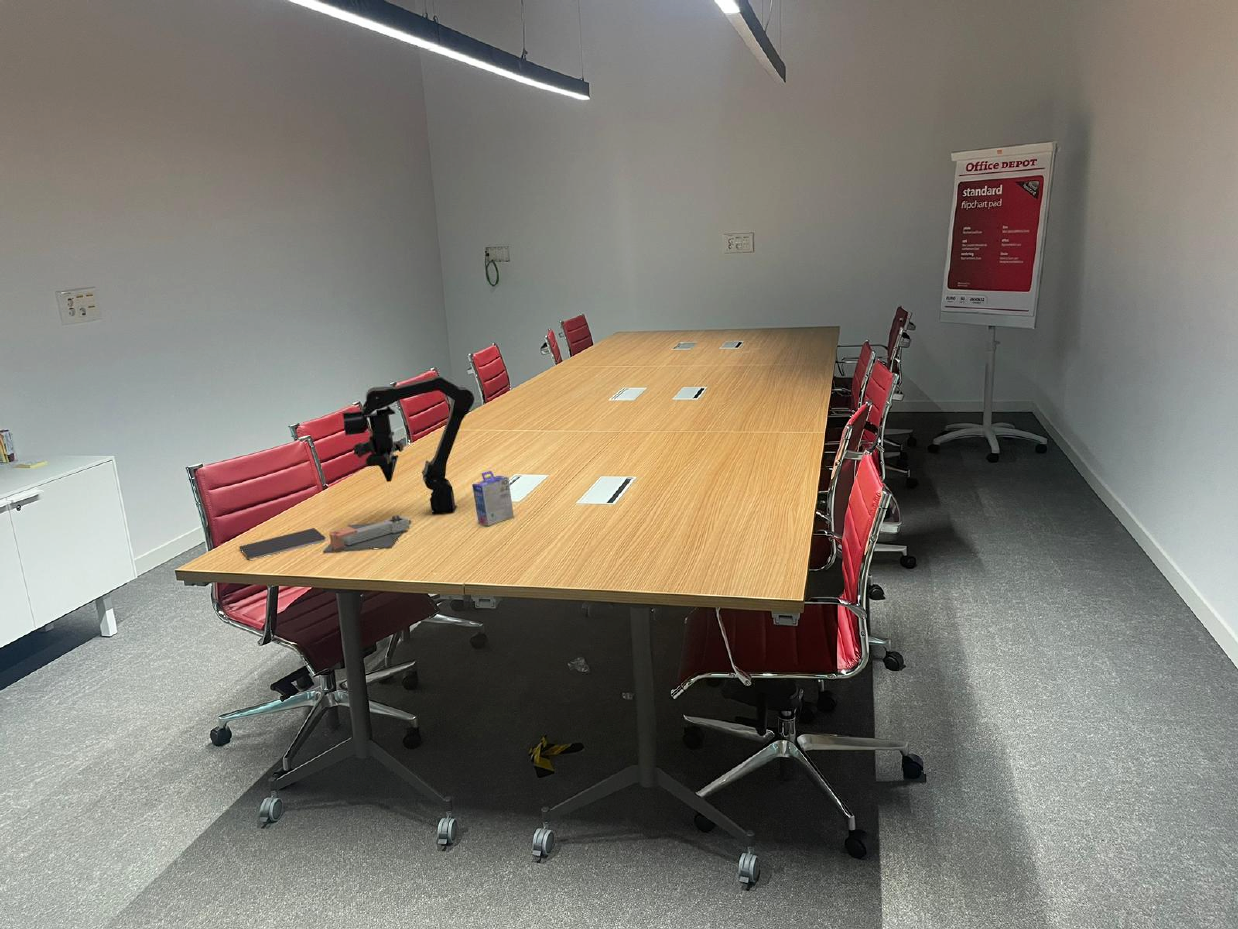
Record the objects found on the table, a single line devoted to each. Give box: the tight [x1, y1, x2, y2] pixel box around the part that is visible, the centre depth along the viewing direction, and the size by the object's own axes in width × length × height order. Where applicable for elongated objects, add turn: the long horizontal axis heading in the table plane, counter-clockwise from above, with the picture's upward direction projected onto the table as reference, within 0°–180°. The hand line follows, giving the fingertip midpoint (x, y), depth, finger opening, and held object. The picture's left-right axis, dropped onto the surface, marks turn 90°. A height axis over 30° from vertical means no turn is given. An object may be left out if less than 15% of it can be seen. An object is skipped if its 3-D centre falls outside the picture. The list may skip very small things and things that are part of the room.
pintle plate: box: [322, 514, 413, 554], centre depth 258 cm, size 19×22×5 cm
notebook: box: [239, 527, 326, 560], centre depth 258 cm, size 13×2×21 cm
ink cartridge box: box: [471, 470, 515, 527], centre depth 261 cm, size 10×6×14 cm, turn 135°
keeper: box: [329, 525, 358, 550], centre depth 250 cm, size 6×6×5 cm
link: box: [342, 515, 410, 545], centre depth 257 cm, size 18×5×3 cm, turn 128°
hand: (389, 481), depth 270 cm, fingers closed
